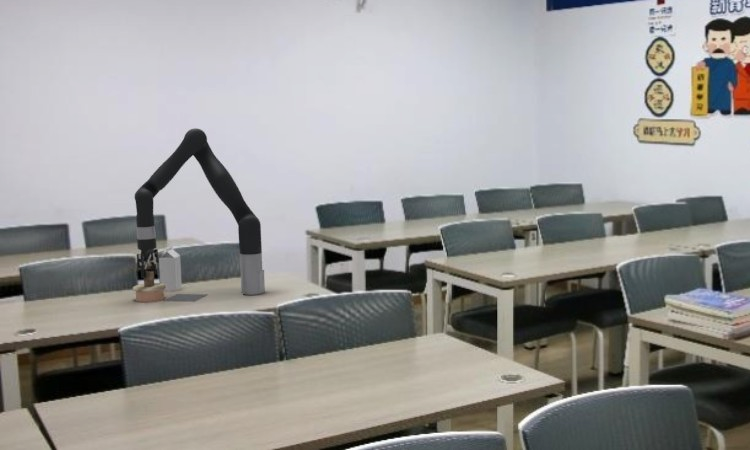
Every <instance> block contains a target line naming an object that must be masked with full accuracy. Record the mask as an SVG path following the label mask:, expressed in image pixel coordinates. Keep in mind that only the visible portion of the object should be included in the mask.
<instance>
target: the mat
mask: <svg viewBox="0 0 750 450" xmlns="http://www.w3.org/2000/svg"><path fill="white" fill-rule="evenodd" d="M208 295H209V294H207V293H206V294H203V293H201V294H200V293H197V294H196V293H177V294H174V295H171V296H170V297H167V298H166V299H163V302H181V303H182V302H183V303H184V302H191V303H194V302H195V303H196V302H197V301H199V300H201V299H203V298H205V297H207V296H208Z"/></svg>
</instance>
